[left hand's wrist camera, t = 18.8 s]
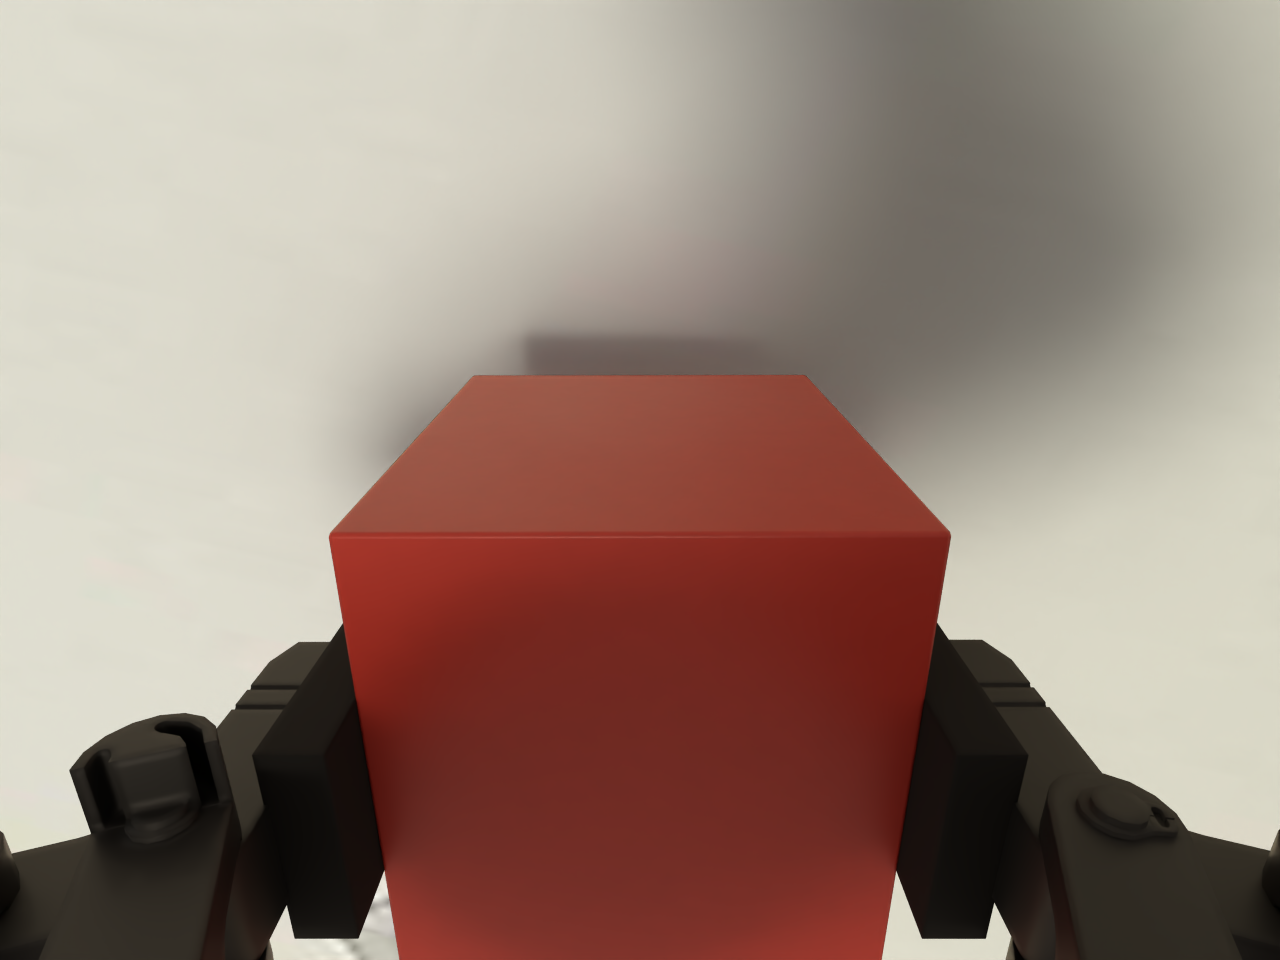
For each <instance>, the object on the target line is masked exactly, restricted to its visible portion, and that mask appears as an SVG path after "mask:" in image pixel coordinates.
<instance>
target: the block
mask: <svg viewBox="0 0 1280 960" xmlns="http://www.w3.org/2000/svg"><path fill="white" fill-rule="evenodd" d="M950 540H951V534H950V531H949V530H948V529H947V528H946V527H945V526H944V525H943V524H942V523H941V522H940V521H939V520H938V518H937V517H936V516H935V515H934V514H933V513H932V512H931V511H930V510H929V509H928V508H927V507H926V505H925V504H924V503H923V502H922V501H921V500H920V499H919V498H918V497H917V496H916V495H915V494H914V492H913V491H912V490H911V489H910V488H909V487H908V486H907V485H906V484H905V483H904V482H903V481H902V479H901V478H900V477H899V476H898V475H897V474H896V473H895V472H894V471H893V470H892V469H891V468H890V466H889V465H888V464H887V463H886V462H885V461H884V460H883V459H882V458H881V457H880V456H879V454H878V453H877V452H876V451H875V450H874V449H873V448H872V447H871V446H870V445H869V444H868V443H867V441H866V440H865V439H864V438H863V437H862V436H861V435H860V434H859V433H858V432H857V431H856V430H855V428H854V427H853V426H852V425H851V424H850V423H849V422H848V421H847V420H846V419H845V418H844V417H843V415H842V414H841V413H840V412H839V411H838V410H837V409H836V408H835V407H834V406H833V405H832V404H831V402H830V401H829V400H828V399H827V398H826V397H825V396H824V395H823V394H822V393H821V392H820V391H819V389H818V388H817V387H816V386H815V385H814V384H813V383H812V382H811V381H810V380H809V379H808V377H807V376H805V375H528V376H473V377H472V378H471V379H470V380H469V381H468V382H467V383H466V385H465V386H464V387H463V388H462V389H461V390H460V391H459V392H458V393H457V394H456V395H455V397H454V398H453V399H452V400H451V401H450V402H449V403H448V404H447V405H446V406H445V408H444V409H443V410H442V411H441V412H440V413H439V414H438V415H437V416H436V417H435V419H434V420H433V421H432V422H431V423H430V424H429V425H428V426H427V427H426V428H425V429H424V431H423V432H422V433H421V434H420V435H419V436H418V437H417V438H416V439H415V440H414V442H413V443H412V444H411V445H410V446H409V447H408V448H407V449H406V450H405V451H404V453H403V454H402V455H401V456H400V457H399V458H398V459H397V460H396V461H395V462H394V463H393V465H392V466H391V467H390V468H389V469H388V470H387V471H386V472H385V473H384V474H383V476H382V477H381V478H380V479H379V480H378V481H377V482H376V483H375V484H374V485H373V486H372V488H371V489H370V490H369V491H368V492H367V493H366V494H365V495H364V496H363V497H362V499H361V500H360V501H359V502H358V503H357V504H356V505H355V506H354V507H353V508H352V510H351V511H350V512H349V513H348V514H347V515H346V516H345V517H344V518H343V519H342V520H341V522H340V523H339V524H338V525H337V526H336V527H335V528H334V529H333V530H332V531H331V533H330V535H329V541H330V547H331V553H332V559H333V565H334V571H335V577H336V583H337V589H338V595H339V601H340V607H341V613H342V619H343V625H344V631H345V637H346V643H347V649H348V655H349V661H350V667H351V673H352V679H353V685H354V691H355V697H356V703H357V709H358V715H359V721H360V726H361V732H362V738H363V744H364V750H365V756H366V762H367V768H368V774H369V780H370V786H371V792H372V798H373V804H374V810H375V816H376V822H377V828H378V834H379V840H380V846H381V852H382V858H383V864H384V870H385V876H386V882H387V888H388V894H389V900H390V906H391V912H392V918H393V924H394V930H395V936H396V942H397V948H398V954H399V960H882V954H883V948H884V942H885V936H886V930H887V923H888V917H889V911H890V905H891V899H892V893H893V887H894V881H895V875H896V869H897V863H898V856H899V850H900V844H901V838H902V832H903V826H904V820H905V814H906V808H907V802H908V796H909V789H910V783H911V777H912V771H913V765H914V759H915V753H916V747H917V741H918V735H919V728H920V722H921V716H922V710H923V704H924V698H925V692H926V686H927V680H928V674H929V668H930V661H931V655H932V649H933V643H934V637H935V631H936V625H937V619H938V613H939V607H940V600H941V594H942V588H943V582H944V576H945V570H946V564H947V558H948V552H949V546H950Z"/></svg>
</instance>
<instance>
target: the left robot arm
mask: <svg viewBox="0 0 1280 960" xmlns="http://www.w3.org/2000/svg"><path fill="white" fill-rule="evenodd" d="M69 771H70V774H71V777H72V780H73V783H74V786H75V788H76V791H77V794H78V797H79V800H80V803H81V806H82V809H83V812H84V814H85V817H86V820H87V823H88V826H89V829H90V832H91V834H90V835H87V836H84V837H80V838H77V839H72V840H68V841H64V842H60V843H55V844H51V845H47V846H43V847H38V848H34V849H30V850H25V851H21V852H17V853H13V854H11V851H10V849H9V846H8V844H7V841H6V839H5V836H4V834H3V833H2V832H1V831H0V960H274V959H273V952H272V948H271V944H270V940H269V939H270V937H271V935H272V933H273V931H274V929H275V927H276V925H277V923H278V921H279V919H280V917H281V915H282V913H283V911H284V909H285V907H286V905H287V908H288V912H289V916H290V920H291V925H292V929H293V933H294V938H295V939H358V938H359V936H360V933H361V930H362V928H363V925H364V923H365V920H366V917H367V915H368V912H369V909H370V907H371V904H372V901H373V899H374V896H375V893H376V891H377V888H378V885H379V883H380V880H381V878H382V875H383V872H384V864H383V858H382V852H381V846H380V840H379V834H378V828H377V822H376V816H375V810H374V804H373V798H372V792H371V786H370V780H369V774H368V768H367V762H366V756H365V750H364V744H363V738H362V732H361V726H360V721H359V715H358V709H357V703H356V697H355V691H354V685H353V679H352V673H351V667H350V661H349V655H348V649H347V643H346V637H345V631H344V625H343V624H342V626H341V627H340V628H339V630H338V631H337V633H336V634H335V636H334V637H333V639H332V640H331V641H330V642H298V643H297V644H295V645H294V646H292V647H291V648H289V649H288V650H286V651H285V652H283V653H282V654H281V655H279V656H278V657H276V658H275V659H273V660H272V661H270V662H269V663H268V664H267V666H266V667H265V668H264V669H263V671H262V672H261V673H260V675H259V676H258V677H257V678H256V680H255V681H254V682H253V683H252V685H251V689H250V690H247V691H246V692H245V693H244V695H243V696H242V697H241V699H240V700H239V701H238V702H237V704H236V708H235V710H231V711H230V712H229V714H228V715H227V716H226V717H225V719H224V720H223V721H222V722H221V724H220V725H219V726H218V728H217V729H216V726H215V725H214V724H213V723H211V722H210V721H209V720H208V719H207V718H205V717H203V716H198V715H193V714H187V713H180V714H169V715H159V716H156V717H152V718H149V719H145V720H142V721H138V722H135V723H132V724H130V725H128V726H126V727H124V728H121V729H119V730H117V731H115V732H113V733H111V734H109V735H107V736H105V737H104V738H102V739H101V740H100V741H98V742H97V743H96V744H94V745H93V746H92V747H90V748H89V749H87V750H86V751H85V752H83V754H82V755H81V756H80V757H79V759H78V760H77V761H76V762H75V764H74V765H73V766H72V768H71V769H70V770H69ZM896 871H897V874H898V876H899V879H900V882H901V884H902V887H903V890H904V892H905V895H906V898H907V900H908V903H909V905H910V908H911V911H912V913H913V916H914V919H915V921H916V924H917V927H918V929H919V932H920V935H921V937H922V939H986V936H987V931H988V927H989V923H990V918H991V914H992V910H993V906H994V903H995V905H996V907H997V909H998V911H999V913H1000V915H1001V917H1002V919H1003V921H1004V923H1005V925H1006V927H1007V929H1008V931H1009V933H1010V935H1011V940H1010V944H1009V948H1008V952H1007V956H1006V960H1280V830H1279V831H1278V833H1277V836H1276V838H1275V841H1274V843H1273V846H1272V848H1271V851H1269V850H1264V849H1260V848H1256V847H1252V846H1247V845H1243V844H1239V843H1234V842H1230V841H1226V840H1222V839H1217V838H1213V837H1209V836H1204V835H1201V834H1197V833H1194V832H1191V831H1188V830H1187V829H1186V827H1185V826H1184V824H1183V823H1182V821H1181V820H1180V818H1179V817H1178V815H1177V814H1176V813H1175V812H1174V811H1173V810H1172V809H1170V808H1169V807H1168V806H1167V805H1166V804H1164V803H1163V802H1162V801H1161V800H1160V799H1158V798H1157V797H1156V796H1155V795H1153V794H1151V793H1149V792H1147V791H1145V790H1144V789H1142V788H1140V787H1138V786H1136V785H1134V784H1132V783H1131V782H1128V781H1125V780H1122V779H1119V778H1116V777H1113V776H1109V775H1106V774H1103V773H1102V772H1101V771H1100V770H1099V769H1098V767H1097V766H1096V765H1095V764H1094V762H1093V761H1092V760H1091V759H1090V757H1089V756H1088V755H1087V754H1086V752H1085V751H1084V750H1083V749H1082V747H1081V746H1080V745H1079V744H1078V742H1077V741H1076V740H1075V739H1074V737H1073V736H1072V735H1071V734H1070V732H1069V731H1068V730H1067V729H1066V727H1065V726H1064V725H1063V723H1062V722H1061V721H1060V720H1059V718H1058V717H1057V716H1056V715H1055V713H1054V712H1053V711H1052V710H1051V708H1050V707H1046V705H1045V701H1044V700H1043V698H1042V697H1041V696H1040V695H1039V693H1038V692H1037V691H1036V690H1035V688H1034V687H1030V682H1029V681H1028V680H1027V678H1026V677H1025V676H1024V675H1023V673H1022V672H1021V671H1020V670H1019V668H1018V667H1017V666H1016V665H1015V663H1014V662H1013V661H1012V660H1011V659H1010V658H1008V657H1007V656H1005V655H1004V654H1002V653H1001V652H999V651H998V650H996V649H995V648H994V647H992V646H991V645H989V644H988V643H986V642H985V641H983V640H949V639H948V638H947V636H946V635H945V634H944V632H943V631H942V629H941V628H940V626H939V625H938V623H937V625H936V631H935V637H934V643H933V649H932V655H931V661H930V668H929V674H928V680H927V686H926V692H925V698H924V704H923V710H922V716H921V722H920V728H919V735H918V741H917V747H916V753H915V759H914V765H913V771H912V777H911V783H910V789H909V796H908V802H907V808H906V814H905V820H904V826H903V832H902V838H901V844H900V850H899V856H898V863H897V869H896Z"/></svg>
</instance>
